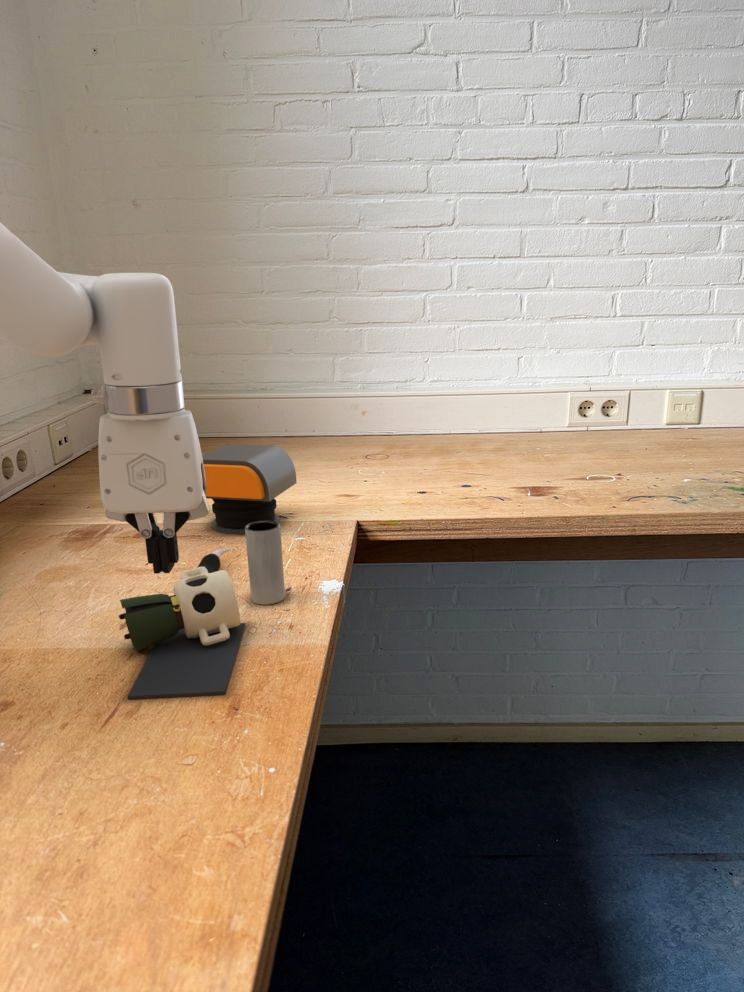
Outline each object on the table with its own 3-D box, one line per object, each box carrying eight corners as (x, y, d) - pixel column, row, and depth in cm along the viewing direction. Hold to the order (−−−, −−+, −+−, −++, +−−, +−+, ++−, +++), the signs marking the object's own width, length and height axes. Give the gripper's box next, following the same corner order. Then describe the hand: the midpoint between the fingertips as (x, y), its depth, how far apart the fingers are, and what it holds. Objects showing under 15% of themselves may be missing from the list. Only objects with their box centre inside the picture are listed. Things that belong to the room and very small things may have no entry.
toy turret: (176, 506, 150) (168, 440, 146) (301, 513, 144) (296, 444, 140) (133, 530, 137) (123, 458, 133) (269, 539, 131) (262, 463, 127)
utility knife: (209, 558, 123) (207, 540, 122) (235, 557, 123) (233, 539, 122) (178, 616, 102) (175, 594, 101) (209, 615, 102) (207, 593, 101)
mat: (127, 699, 82) (127, 696, 82) (163, 629, 98) (163, 626, 98) (225, 694, 83) (224, 691, 83) (245, 625, 99) (245, 622, 99)
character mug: (107, 572, 92) (218, 545, 96) (116, 606, 97) (221, 578, 102) (127, 651, 86) (244, 617, 91) (136, 681, 92) (246, 649, 96)
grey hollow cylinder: (245, 603, 106) (238, 529, 102) (260, 590, 110) (254, 519, 107) (276, 606, 104) (270, 532, 101) (291, 593, 109) (285, 521, 105)
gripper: (57, 407, 77) (83, 584, 83) (213, 404, 78) (228, 579, 84) (82, 396, 84) (105, 559, 90) (225, 393, 85) (238, 555, 91)
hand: (164, 568), depth 87 cm, fingers closed
